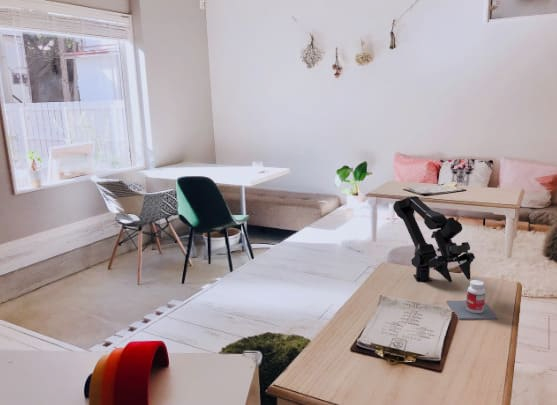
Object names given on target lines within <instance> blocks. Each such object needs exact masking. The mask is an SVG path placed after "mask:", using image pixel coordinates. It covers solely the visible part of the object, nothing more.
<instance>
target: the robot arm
mask: <svg viewBox="0 0 557 405" xmlns="http://www.w3.org/2000/svg"><path fill="white" fill-rule="evenodd" d="M392 208H393V211H394V212H395V213H396V215H397V217H398V218H400V219H401V220H402V221H403V223H404V224H405V225H404V226H405V227H406V229H407V232H408V234H409V236H410V238H411V241H412V243H413V245H414V248H415V249H414V254H413V255H414V256H413V258H412V259H410V260H411V265H412V266H414V267H415V273H414V274H413V278H414V279H415V280H416V282H432V281H433V279H432V278H431V276H430V274H431V273H430V272H431V269H432V270H435V271H436V272H438V273H439V274H440V275H441V276H442V277H444V279H445V280H446V281H448V282H449V283H452V282H453V279H452V276H451V274H450V271H449V268H448V265H449V263H450V264H451V263H458V264H459V265H458V268H460V270H461V272H462V273H463V275H464V277H465V278H466V279H467V281H469V280H470V281H471V265H472V263H473V261H474V260H475V259H476V256H475V254H474V253H473V252H469V251H470V250H471V246H470V243H469V241H467V242H466V241H463V242H461V244H459V245H457V243H456V242H453V240H452V239H454V238H455V237H456V236H457V235H459V234H460V233H461V232H462V231H463V225H462V223H460V222H459V221H458V220H456V219H455V218H454V217H453V216H452V217H448V218H447V217H446V216H445V215H444V214H443V213H441V212H438V211H435V210H433V209H431V208H430V207H429V206H428V205H427V204H425V203H424V202H423V201H422V200H421V199H420V197H419V196H417V195H414V196H408V197H406V198H403V199H401V200H395V202H394V204H393V206H392ZM415 212H416V213H417V214H418V215H419V216H420V217H421V218H422V219H423V223H424V225H425V226H426V227H427V229H429V230H430V231H431V230H433V231H432V233H431V236H430V238H431V239H434V240H435V242H436V245H437V247H438V248H436V250H435V247H434V245H433V244H432V243H427V241H426V239H425V237H424V235H423V232H422V230H421V229H420V226H419V224H418V222H417V219H416V217H415V216H414V215H415V214H414V213H415ZM437 252H438V253H439V252H440V254H441V255H437Z"/></svg>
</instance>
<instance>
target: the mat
mask: <svg viewBox="0 0 557 405" xmlns="http://www.w3.org/2000/svg"><path fill="white" fill-rule="evenodd" d="M466 301H467V299H465V300H446V304H447V305H448V307H449V308H450V310H453V311H454V312H455V313H454V312H453V311H452V312H453V313H454V315H455V314H456V315H457V316H456V315H455V316H456V318H457V317H458V318H457V319H458V320H459V321H460V320H465V321H466V320H469V321H470V320H471V321H473V320H499V316H498V315H497V314H496V313H495V312H494V310H492V309H491V307H490V306H489V304H487V303H486V302H485V303H484V311H483V312H482V313H472V312H469V311H468V310H467V309H466Z"/></svg>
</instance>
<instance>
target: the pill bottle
mask: <svg viewBox="0 0 557 405" xmlns="http://www.w3.org/2000/svg"><path fill="white" fill-rule="evenodd" d="M484 287H485V282H483V281H482V280H479V279H472V280H471V279H470V282H469V286H468V287H467V291H466V300H467V301H466V309H467V310H468V311H469V312H472V313H482V312H483V311H484V303H486V291H487V290H486V289H485V288H484Z"/></svg>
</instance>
